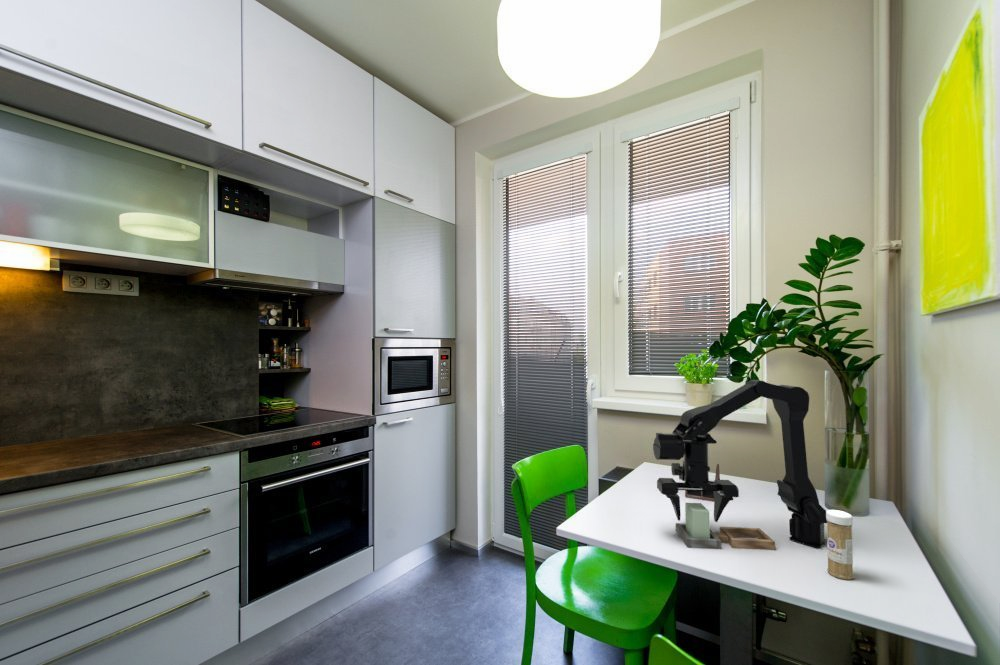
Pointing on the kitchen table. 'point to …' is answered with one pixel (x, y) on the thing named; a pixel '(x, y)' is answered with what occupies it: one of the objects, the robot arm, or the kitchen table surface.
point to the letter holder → (703, 494)
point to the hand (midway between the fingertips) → (697, 520)
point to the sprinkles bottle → (839, 544)
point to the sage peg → (697, 521)
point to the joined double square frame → (728, 538)
